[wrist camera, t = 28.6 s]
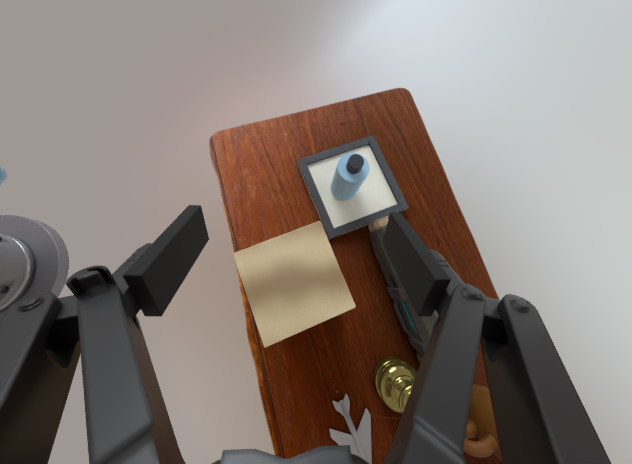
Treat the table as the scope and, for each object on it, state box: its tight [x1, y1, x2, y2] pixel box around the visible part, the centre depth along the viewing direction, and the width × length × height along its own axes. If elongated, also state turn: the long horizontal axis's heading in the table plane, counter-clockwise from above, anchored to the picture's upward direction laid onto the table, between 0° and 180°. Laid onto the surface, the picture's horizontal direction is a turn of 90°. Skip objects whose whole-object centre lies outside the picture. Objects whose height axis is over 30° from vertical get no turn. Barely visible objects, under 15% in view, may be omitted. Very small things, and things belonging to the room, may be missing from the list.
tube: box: [368, 216, 438, 364], centre depth 41 cm, size 11×7×30 cm
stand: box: [233, 221, 356, 348], centre depth 36 cm, size 12×12×16 cm
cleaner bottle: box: [330, 153, 370, 201], centre depth 42 cm, size 6×6×11 cm
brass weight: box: [373, 356, 417, 414], centre depth 37 cm, size 7×7×10 cm
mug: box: [463, 384, 503, 462], centre depth 36 cm, size 13×8×10 cm, turn 96°
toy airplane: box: [329, 384, 372, 464], centre depth 38 cm, size 8×21×2 cm, turn 24°
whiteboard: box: [297, 135, 409, 240], centre depth 48 cm, size 18×18×2 cm
